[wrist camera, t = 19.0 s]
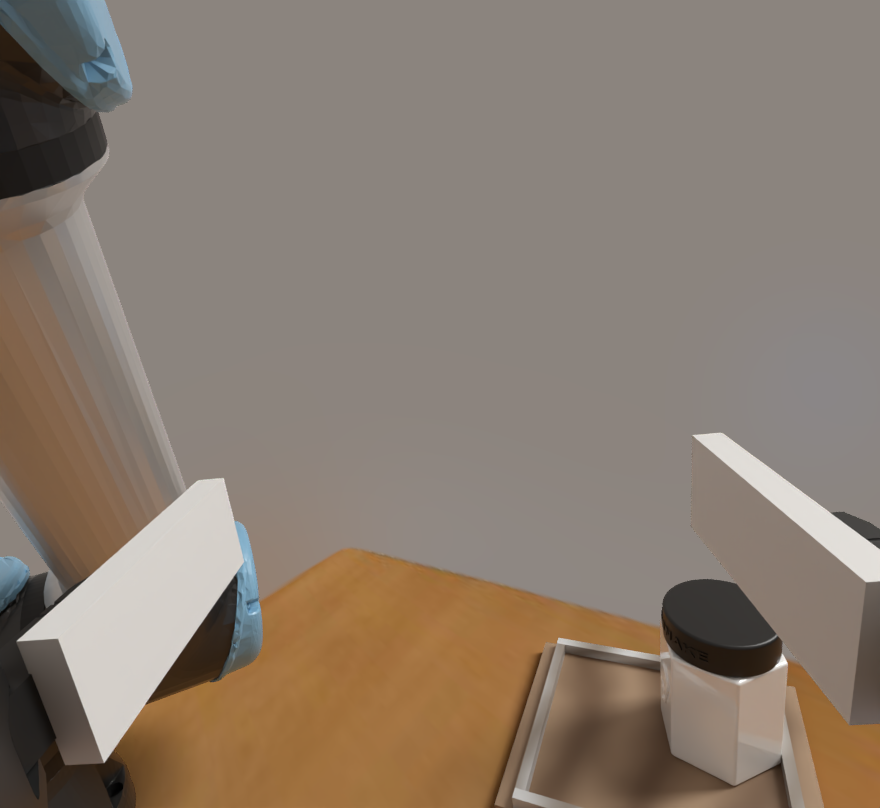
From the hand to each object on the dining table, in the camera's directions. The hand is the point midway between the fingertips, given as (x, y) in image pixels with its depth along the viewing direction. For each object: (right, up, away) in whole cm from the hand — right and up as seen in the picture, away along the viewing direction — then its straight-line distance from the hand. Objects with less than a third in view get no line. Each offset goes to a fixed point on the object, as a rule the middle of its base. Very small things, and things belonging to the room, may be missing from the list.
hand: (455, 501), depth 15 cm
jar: (+22, -24, +29) cm, 44 cm away
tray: (+17, -26, +29) cm, 43 cm away
